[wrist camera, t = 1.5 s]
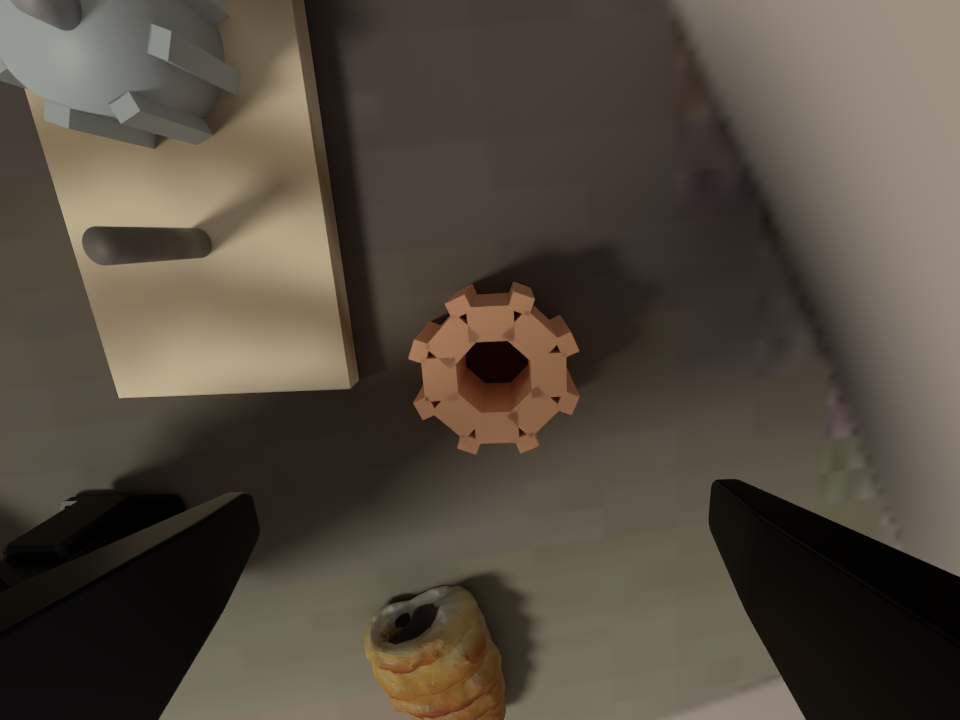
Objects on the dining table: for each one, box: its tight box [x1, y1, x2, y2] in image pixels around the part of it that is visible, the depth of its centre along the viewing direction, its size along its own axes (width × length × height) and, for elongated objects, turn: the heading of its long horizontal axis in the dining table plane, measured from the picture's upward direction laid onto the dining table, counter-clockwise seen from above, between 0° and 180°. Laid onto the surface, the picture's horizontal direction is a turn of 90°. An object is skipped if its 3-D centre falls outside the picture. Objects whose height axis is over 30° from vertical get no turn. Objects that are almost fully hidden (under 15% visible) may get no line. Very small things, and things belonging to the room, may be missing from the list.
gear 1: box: [0, 0, 241, 149], centre depth 14 cm, size 6×6×4 cm
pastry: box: [363, 585, 506, 720], centre depth 23 cm, size 9×7×4 cm
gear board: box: [25, 0, 359, 398], centre depth 16 cm, size 20×11×6 cm, turn 4°
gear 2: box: [408, 282, 580, 455], centre depth 18 cm, size 6×6×4 cm
